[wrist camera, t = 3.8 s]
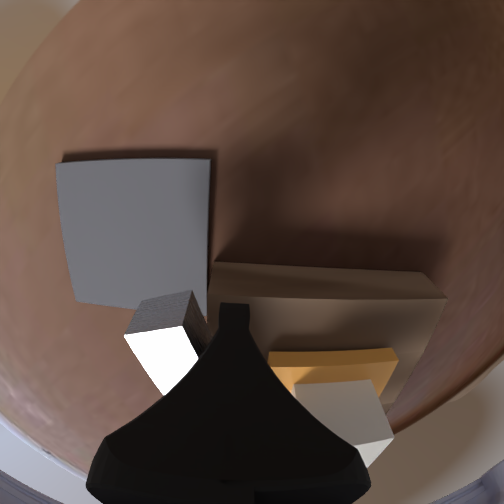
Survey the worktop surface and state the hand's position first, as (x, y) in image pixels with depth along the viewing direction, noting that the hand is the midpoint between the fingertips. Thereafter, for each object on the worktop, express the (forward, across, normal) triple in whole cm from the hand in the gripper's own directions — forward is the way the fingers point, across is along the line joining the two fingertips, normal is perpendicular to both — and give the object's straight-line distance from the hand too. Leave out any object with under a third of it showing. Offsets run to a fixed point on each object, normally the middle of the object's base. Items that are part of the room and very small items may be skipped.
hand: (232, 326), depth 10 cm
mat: (+5, +5, -1) cm, 7 cm away
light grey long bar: (+2, 0, +5) cm, 6 cm away
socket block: (+5, -5, +6) cm, 9 cm away
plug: (+5, -5, +6) cm, 9 cm away
